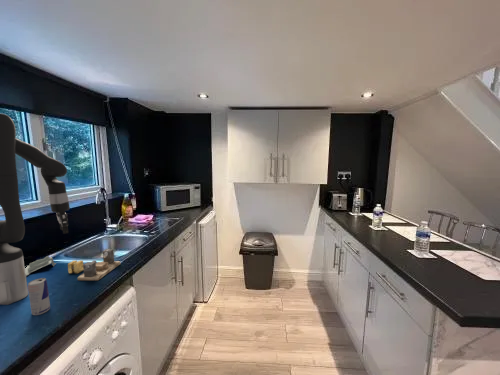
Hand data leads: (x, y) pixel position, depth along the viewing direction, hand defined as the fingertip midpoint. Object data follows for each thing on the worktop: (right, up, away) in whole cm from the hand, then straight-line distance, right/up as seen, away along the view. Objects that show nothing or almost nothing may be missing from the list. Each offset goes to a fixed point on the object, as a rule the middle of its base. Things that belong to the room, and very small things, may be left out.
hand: (64, 231), depth 126 cm
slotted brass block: (+9, -20, -4) cm, 22 cm away
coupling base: (+22, -20, -4) cm, 30 cm away
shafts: (+22, -14, -5) cm, 26 cm away
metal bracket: (-14, -21, 0) cm, 25 cm away
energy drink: (+19, -24, -36) cm, 47 cm away
